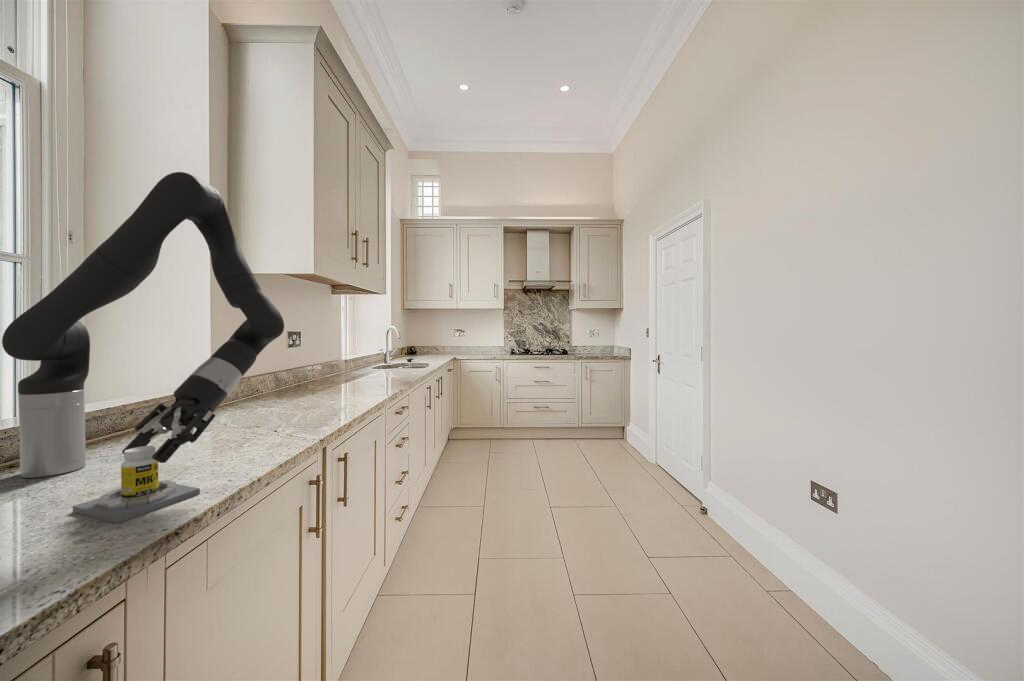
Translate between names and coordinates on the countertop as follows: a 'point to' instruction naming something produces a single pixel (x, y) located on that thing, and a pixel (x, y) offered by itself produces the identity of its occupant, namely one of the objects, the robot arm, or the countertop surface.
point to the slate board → (128, 513)
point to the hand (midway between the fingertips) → (142, 458)
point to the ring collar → (109, 503)
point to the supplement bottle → (139, 473)
